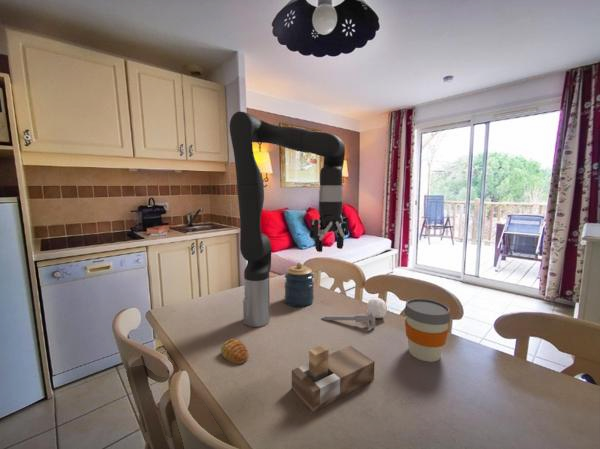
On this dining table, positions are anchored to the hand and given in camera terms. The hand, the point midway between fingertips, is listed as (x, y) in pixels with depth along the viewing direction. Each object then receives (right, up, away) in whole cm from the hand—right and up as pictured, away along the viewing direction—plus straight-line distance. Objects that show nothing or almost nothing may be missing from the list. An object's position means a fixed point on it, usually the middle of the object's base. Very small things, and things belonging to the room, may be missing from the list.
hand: (329, 249), depth 91 cm
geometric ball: (+20, -28, +19) cm, 40 cm away
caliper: (+8, -29, +14) cm, 33 cm away
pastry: (-29, -32, -7) cm, 43 cm away
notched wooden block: (-1, -33, -19) cm, 38 cm away
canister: (-10, -26, +34) cm, 44 cm away
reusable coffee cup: (+29, -31, -5) cm, 43 cm away
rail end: (-5, -32, -22) cm, 39 cm away
